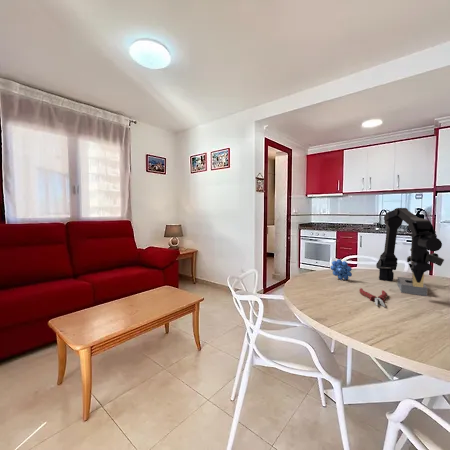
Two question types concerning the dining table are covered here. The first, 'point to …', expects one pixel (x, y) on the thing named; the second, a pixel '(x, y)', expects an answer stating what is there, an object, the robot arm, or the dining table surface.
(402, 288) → the grey block with hole
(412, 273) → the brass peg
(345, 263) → the grapes
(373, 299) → the pliers
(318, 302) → the dining table surface
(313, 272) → the dining table surface
